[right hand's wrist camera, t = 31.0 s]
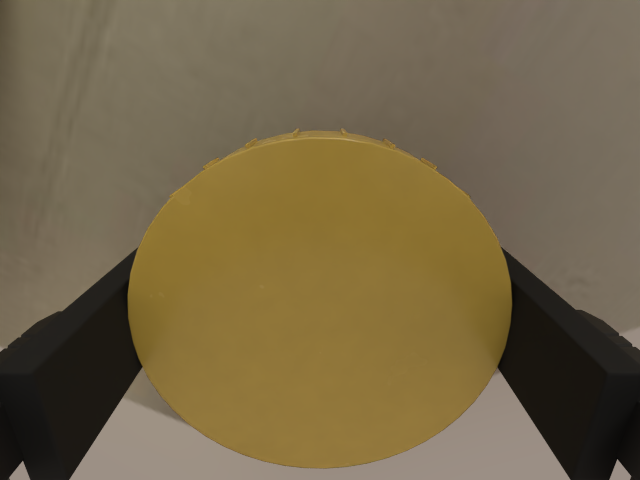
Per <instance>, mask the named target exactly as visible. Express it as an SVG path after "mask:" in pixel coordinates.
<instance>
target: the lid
mask: <svg viewBox="0 0 640 480" xmlns="http://www.w3.org/2000/svg"><path fill="white" fill-rule="evenodd" d="M203 168H204V170H203V171H202V172H200V173H199V174H198V175H197V176H195V177H194V178H193V179H192V180H190V181H189V182H188V183H186V184H185V185H184V186H183V187H181V188H180V189H178V190H177V191H175V192H174V193H172V194H171V195H170V196H169V197H170V198H171V199H170V200H169V201H168V202H167V203H166V204H165V205H164V206H163V207H162V208H161V210H160V211H159V213H158V214H157V216H156V217H155V218H154V220H153V221H152V223H151V224H150V226H149V227H148V229H147V231H146V233H145V235H144V237H143V239H142V241H141V243H140V245H139V247H138V249H137V252H136V256H135V259H134V262H133V266H132V269H131V273H130V280H129V288H128V320H129V325H130V330H131V335H132V339H133V344H134V347H135V350H136V353H137V356H138V359H139V361H140V363H141V365H142V367H143V369H144V371H145V373H146V375H147V377H148V378H149V380H150V381H151V383H152V384H153V386H154V387H155V389H156V390H157V392H158V393H159V395H160V396H161V397H162V398H163V399H164V400H165V401H166V403H167V404H168V405H169V406H170V407H171V408H172V409H173V411H175V412H176V413H177V414H178V415H179V416H180V417H181V418H182V419H184V420H185V421H186V422H187V423H188V424H189V425H191V426H192V427H193V428H195V429H196V430H198V431H199V432H200V433H202V434H203V435H205V436H206V437H208V438H210V439H211V440H213V441H215V442H217V443H219V444H220V445H222V446H224V447H226V448H229V449H231V450H233V451H236V452H238V453H240V454H242V455H245V456H248V457H252V458H255V459H258V460H261V461H265V462H269V463H274V464H279V465H284V466H292V467H300V468H339V467H349V466H355V465H361V464H367V463H371V462H374V461H378V460H382V459H385V458H389V457H391V456H394V455H397V454H399V453H402V452H404V451H407V450H409V449H411V448H413V447H415V446H417V445H419V444H421V443H423V442H425V441H427V440H428V439H430V438H431V437H433V436H435V435H436V434H438V433H439V432H441V431H442V430H444V429H445V428H446V427H448V426H449V425H450V424H451V423H453V422H454V421H455V420H456V419H458V418H459V417H460V416H461V415H462V414H463V413H464V412H465V411H466V410H467V409H468V408H469V407H470V406H471V405H472V404H473V403H474V401H475V400H476V399H477V398H478V396H479V395H480V394H481V392H482V391H483V390H484V388H485V387H486V386H487V384H488V382H489V381H490V379H491V377H492V375H493V374H494V372H495V370H496V369H497V367H498V364H499V362H500V359H501V357H502V354H503V352H504V349H505V347H506V342H507V338H508V333H509V329H510V323H511V314H512V292H511V281H510V276H509V272H508V267H507V263H506V259H505V256H504V254H503V251H502V249H501V246H500V244H499V241H498V239H497V237H496V235H495V233H494V232H493V230H492V228H491V227H490V225H489V223H488V222H487V220H486V218H485V217H484V215H483V214H482V213H481V212H480V211H479V209H478V208H477V207H476V206H475V204H474V203H473V202H472V201H471V200H470V196H469V194H467V193H466V192H464V191H463V190H461V189H460V188H458V187H457V186H456V185H454V184H453V183H452V182H451V181H450V180H449V179H448V178H446V177H445V176H443V175H442V174H440V173H438V172H437V171H435V170H436V168H437V166H435V165H434V164H432V163H430V162H429V161H427V160H426V159H424V158H422V159H421V161H420V160H419V159H417V158H416V157H414V156H413V155H411V154H410V153H408V152H405V151H403V150H401V149H399V148H397V147H395V144H393V143H392V142H390V141H389V140H387V139H383V141H379V140H376V139H373V138H370V137H367V136H363V135H357V134H351V133H347V132H346V131H345V129H340V131H304V132H300V128H298V129H295V131H294V132H293V133H286V134H282V135H278V136H274V137H270V138H266V139H262V140H260V141H257V139H256V138H255V139H253V140H251V141H250V142H248V143H247V144H245V147H242V148H240V149H238V150H236V151H234V152H233V153H231V154H229V155H227V156H226V157H224V158H222V159H220V160H219V158H218V157H217V158H216V159H214V160H212V161H211V162H209V163H208V164H206V165H205V166H203Z"/></svg>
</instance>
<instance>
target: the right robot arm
mask: <svg viewBox="0 0 640 480" xmlns="http://www.w3.org/2000/svg"><path fill="white" fill-rule="evenodd" d="M137 249H138V248H137ZM137 249H136V250H134V251H133V252H132V253H131V254H130V255H128V256H127V257H126V258H125V259H124V260H123V261H121V262H120V263H119V264H118V265H117V266H115V267H114V268H113V269H112V270H111V271H110V272H108V273H107V274H106V275H105V276H104V277H102V278H101V279H100V280H99V281H98V282H97V283H95V284H94V285H93V286H92V287H91V288H89V289H88V290H87V291H86V292H85V293H84V294H82V295H81V296H80V297H79V298H78V299H76V300H75V301H74V302H73V303H72V304H71V305H69V306H68V307H67V308H66V309H65V310H63V311H58V312H56V313H54V314H52V315H50V316H48V317H46V318H44V319H42V320H41V321H39V322H37V323H36V324H34V325H33V326H32V327H31V328H29V329H28V330H27V331H26V332H24V333H23V334H22V335H21V338H17V339H16V340H14V341H13V342H12V343H11V344H10V345H8V348H7V349H3V350H2V351H1V352H0V480H10V479H9V477H10V476H11V474H12V473H13V472H14V471H15V469H16V468H17V467H18V466H19V464H20V463H21V462H22V461H23V462H24V464H25V467H26V469H27V472H28V475H29V477H30V480H69V479H70V478H71V476H72V474H73V473H74V471H75V470H76V468H77V467H78V465H79V464H80V462H81V461H82V459H83V457H84V456H85V454H86V453H87V451H88V450H89V448H90V447H91V445H92V444H93V442H94V441H95V439H96V437H97V436H98V434H99V433H100V431H101V430H102V428H103V427H104V425H105V424H106V422H107V421H108V419H109V417H110V416H111V414H112V413H113V411H114V410H115V408H116V407H117V405H118V404H119V402H120V401H121V399H122V397H123V396H124V394H125V393H126V391H127V390H128V388H129V387H130V385H131V384H132V382H133V381H134V379H135V377H136V376H137V374H138V373H139V371H140V370H141V368H142V365H141V363H140V361H139V359H138V356H137V353H136V350H135V347H134V344H133V339H132V335H131V330H130V325H129V320H128V288H129V280H130V273H131V269H132V266H133V262H134V259H135V256H136V252H137ZM501 249H502V251H503V254H504V256H505V259H506V263H507V267H508V272H509V276H510V281H511V292H512V314H511V323H510V329H509V333H508V338H507V342H506V347H505V349H504V352H503V354H502V357H501V359H500V362H499V364H498V369H499V370H500V372H501V373H502V375H503V376H504V378H505V379H506V381H507V382H508V384H509V386H510V387H511V389H512V390H513V392H514V393H515V395H516V396H517V398H518V399H519V401H520V402H521V404H522V406H523V407H524V409H525V410H526V412H527V413H528V415H529V416H530V418H531V419H532V421H533V423H534V424H535V426H536V427H537V429H538V430H539V432H540V433H541V435H542V436H543V438H544V439H545V441H546V442H547V444H548V446H549V447H550V449H551V450H552V452H553V453H554V455H555V456H556V458H557V459H558V461H559V462H560V464H561V466H562V467H563V469H564V470H565V472H566V473H567V475H568V476H569V478H570V479H571V480H609V479H610V476H611V474H612V471H613V469H614V466H615V464H616V461H617V459H618V460H619V461H620V463H621V464H622V465H623V466H624V468H625V469H626V470H627V471H628V473H629V474H630V475H631V479H630V480H640V350H639V349H638V348H636V347H632V344H631V343H630V342H629V341H628V340H626V339H625V338H624V337H623V336H619V333H618V332H616V331H615V330H614V329H613V328H611V327H610V326H609V325H608V324H606V323H605V322H604V321H602V320H600V319H598V318H596V317H595V316H593V315H591V314H589V313H587V312H585V311H583V310H575V309H574V308H573V307H572V306H570V305H569V304H568V303H567V302H566V301H564V300H563V299H562V298H561V297H560V296H559V295H557V294H556V293H555V292H554V291H553V290H551V289H550V288H549V287H548V286H547V285H546V284H544V283H543V282H542V281H541V280H540V279H538V278H537V277H536V276H535V275H534V274H533V273H531V272H530V271H529V270H528V269H527V268H525V267H524V266H523V265H522V264H521V263H520V262H518V261H517V260H516V259H515V258H514V257H512V256H511V255H510V254H509V253H508V252H507V251H505V250H504V249H503V248H502V247H501Z"/></svg>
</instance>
